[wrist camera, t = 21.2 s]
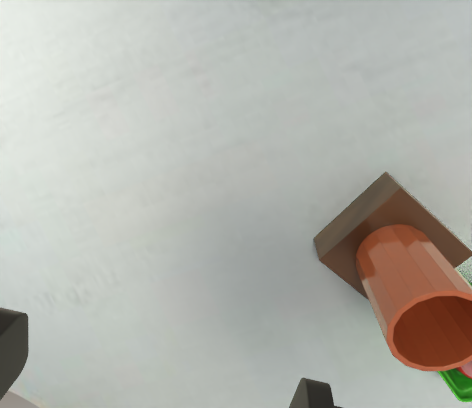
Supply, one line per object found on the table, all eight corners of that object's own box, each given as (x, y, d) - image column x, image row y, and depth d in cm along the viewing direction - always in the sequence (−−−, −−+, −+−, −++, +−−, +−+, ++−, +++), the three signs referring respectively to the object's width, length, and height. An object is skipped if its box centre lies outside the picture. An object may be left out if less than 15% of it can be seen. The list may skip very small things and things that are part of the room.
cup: (398, 209, 29) (449, 271, 21) (450, 255, 31) (517, 331, 22) (339, 259, 32) (365, 334, 23) (390, 301, 33) (431, 386, 25)
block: (385, 171, 32) (401, 187, 29) (451, 232, 34) (474, 254, 30) (313, 238, 35) (318, 260, 32) (377, 290, 37) (389, 317, 34)
